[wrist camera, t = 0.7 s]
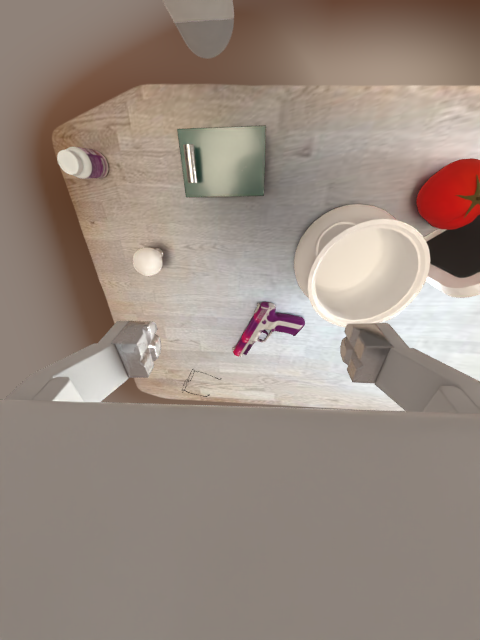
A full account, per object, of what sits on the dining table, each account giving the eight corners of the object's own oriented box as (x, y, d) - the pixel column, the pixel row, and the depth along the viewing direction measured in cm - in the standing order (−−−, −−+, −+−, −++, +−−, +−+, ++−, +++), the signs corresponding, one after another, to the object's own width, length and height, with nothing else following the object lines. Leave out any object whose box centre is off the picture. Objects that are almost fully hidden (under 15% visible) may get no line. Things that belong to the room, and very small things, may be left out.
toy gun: (270, 363, 81) (231, 347, 78) (304, 316, 70) (260, 296, 67) (270, 370, 78) (229, 354, 75) (306, 323, 67) (260, 302, 64)
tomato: (399, 227, 55) (436, 240, 44) (411, 165, 49) (457, 163, 38) (454, 219, 54) (505, 231, 43) (473, 155, 47) (539, 149, 36)
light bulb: (174, 263, 64) (159, 279, 55) (150, 265, 64) (133, 281, 55) (167, 239, 60) (151, 250, 51) (143, 240, 61) (123, 253, 52)
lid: (187, 197, 47) (180, 199, 43) (178, 129, 41) (169, 124, 37) (263, 195, 46) (264, 197, 42) (265, 126, 40) (266, 120, 36)
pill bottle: (104, 148, 51) (75, 144, 43) (112, 177, 54) (86, 178, 45) (81, 150, 51) (48, 145, 43) (90, 178, 54) (61, 179, 46)
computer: (456, 292, 40) (460, 303, 41) (634, 207, 32) (633, 223, 33) (392, 254, 59) (396, 262, 60) (495, 194, 51) (497, 205, 52)
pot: (270, 251, 60) (275, 275, 46) (357, 173, 50) (397, 173, 36) (327, 314, 69) (345, 350, 55) (410, 258, 59) (459, 285, 45)
